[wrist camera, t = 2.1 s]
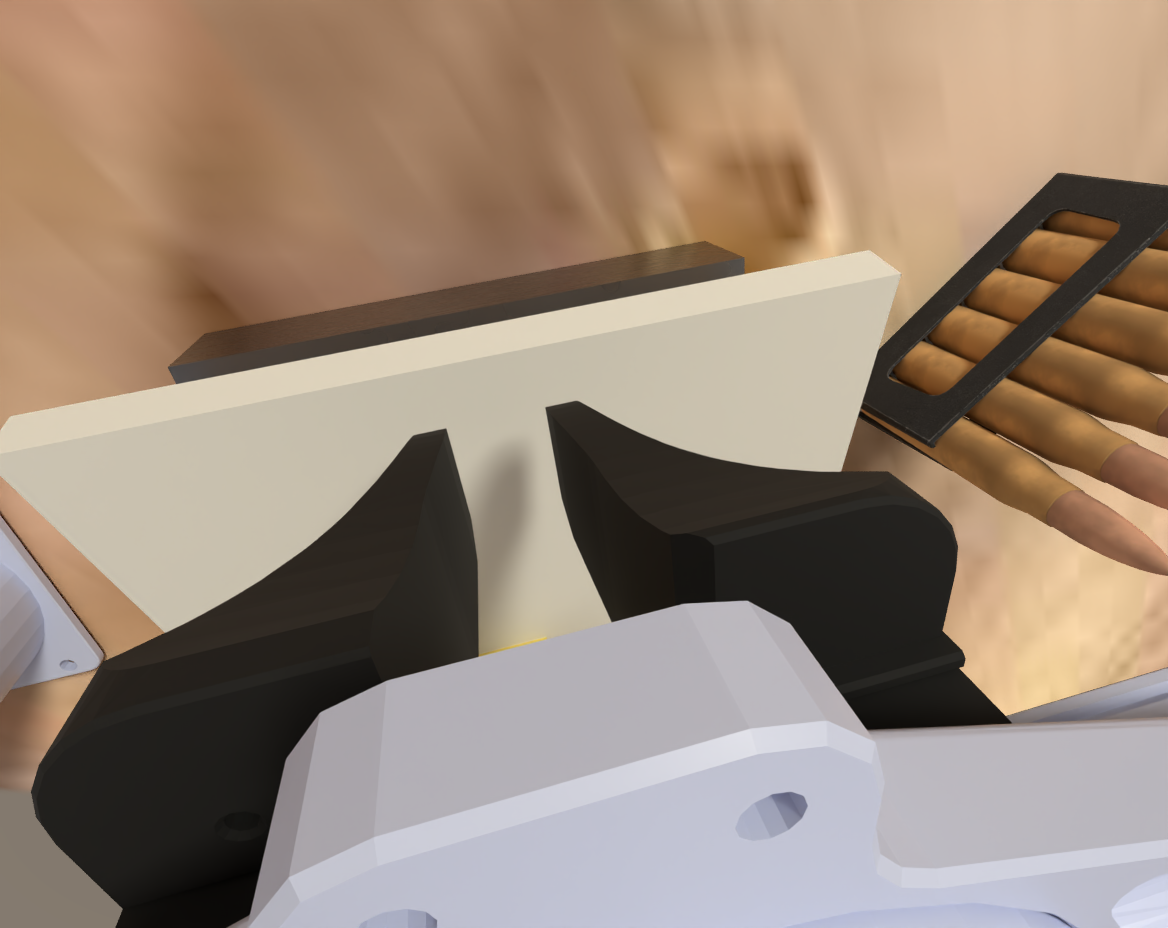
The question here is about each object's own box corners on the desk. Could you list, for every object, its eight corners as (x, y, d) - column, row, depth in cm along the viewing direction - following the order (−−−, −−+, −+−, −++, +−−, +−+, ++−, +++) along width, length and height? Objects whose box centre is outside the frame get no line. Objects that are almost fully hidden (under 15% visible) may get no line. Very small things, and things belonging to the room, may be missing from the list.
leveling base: (353, 656, 26) (337, 761, 21) (204, 333, 18) (137, 394, 14) (715, 565, 27) (766, 644, 23) (705, 241, 20) (775, 270, 16)
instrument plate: (322, 746, 23) (311, 911, 19) (10, 416, 12) (-160, 657, 8) (772, 625, 25) (840, 753, 21) (869, 250, 14) (1047, 380, 10)
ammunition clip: (859, 417, 25) (1150, 616, 15) (835, 392, 24) (1126, 583, 14) (1077, 207, 23) (1604, 272, 13) (1059, 171, 22) (1608, 208, 12)
